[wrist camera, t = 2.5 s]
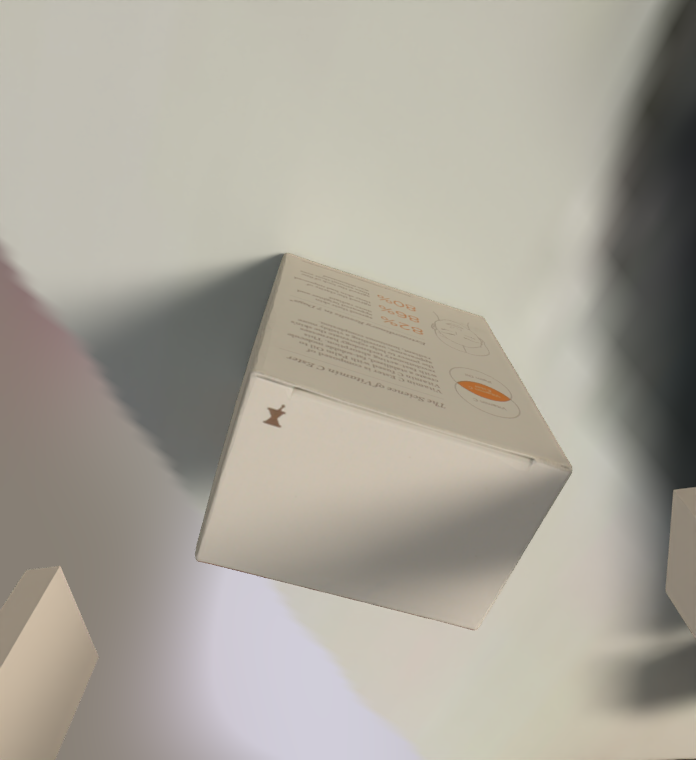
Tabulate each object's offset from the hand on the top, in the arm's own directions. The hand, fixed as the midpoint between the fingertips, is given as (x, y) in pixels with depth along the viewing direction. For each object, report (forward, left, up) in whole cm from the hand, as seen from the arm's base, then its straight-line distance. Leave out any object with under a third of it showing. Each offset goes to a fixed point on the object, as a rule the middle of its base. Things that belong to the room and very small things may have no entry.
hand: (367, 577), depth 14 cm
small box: (0, 0, -12) cm, 12 cm away
